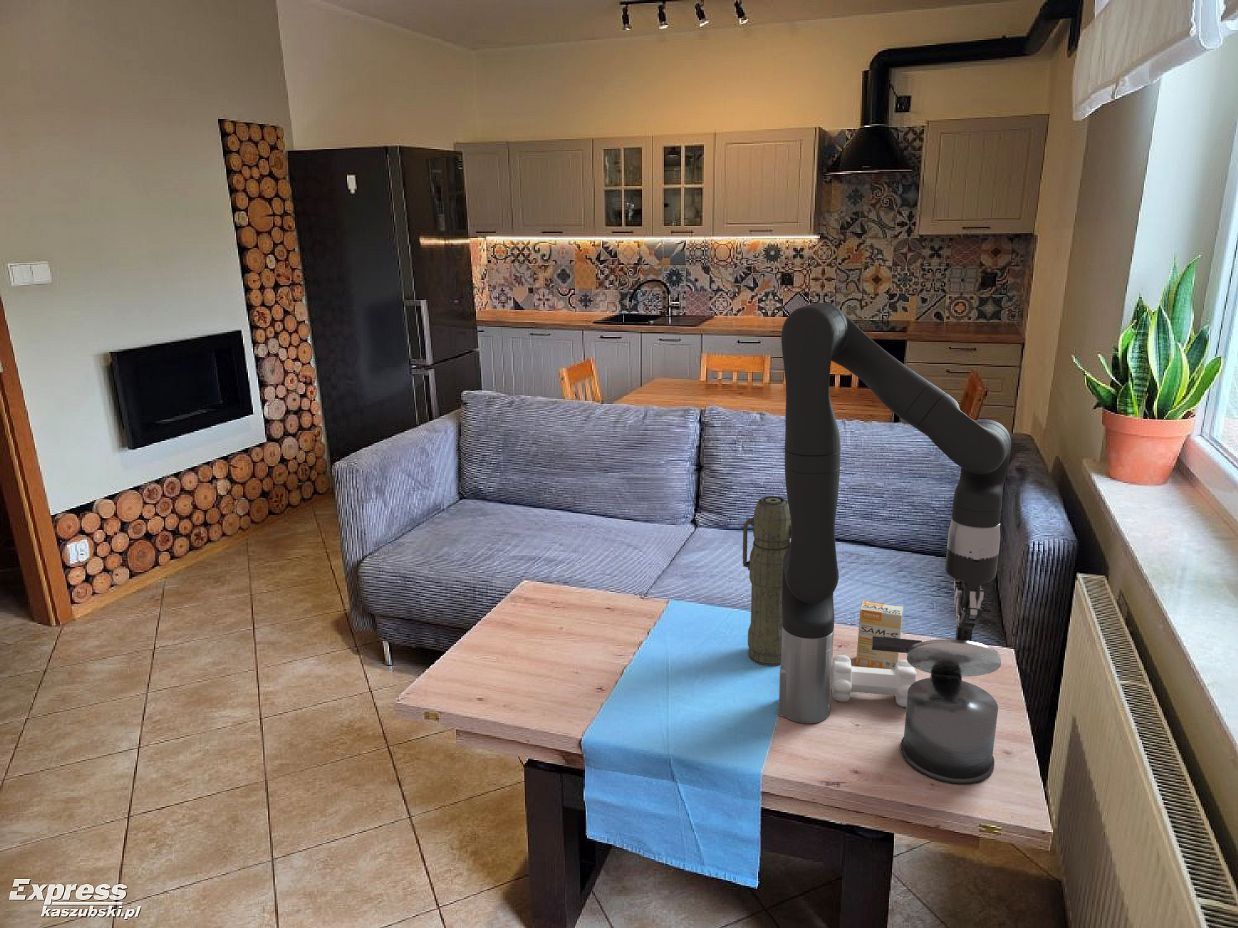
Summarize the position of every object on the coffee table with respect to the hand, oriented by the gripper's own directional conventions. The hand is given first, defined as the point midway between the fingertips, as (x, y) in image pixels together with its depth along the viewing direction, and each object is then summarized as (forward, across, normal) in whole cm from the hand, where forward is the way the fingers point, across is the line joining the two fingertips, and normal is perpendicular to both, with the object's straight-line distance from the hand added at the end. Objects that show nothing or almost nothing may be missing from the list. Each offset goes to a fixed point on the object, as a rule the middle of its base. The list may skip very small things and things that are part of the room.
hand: (962, 644), depth 133 cm
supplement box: (+21, -28, -11) cm, 37 cm away
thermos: (+21, -27, -33) cm, 48 cm away
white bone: (+21, -15, -12) cm, 29 cm away
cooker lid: (+4, -2, -4) cm, 6 cm away
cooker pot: (+21, +1, -1) cm, 21 cm away
